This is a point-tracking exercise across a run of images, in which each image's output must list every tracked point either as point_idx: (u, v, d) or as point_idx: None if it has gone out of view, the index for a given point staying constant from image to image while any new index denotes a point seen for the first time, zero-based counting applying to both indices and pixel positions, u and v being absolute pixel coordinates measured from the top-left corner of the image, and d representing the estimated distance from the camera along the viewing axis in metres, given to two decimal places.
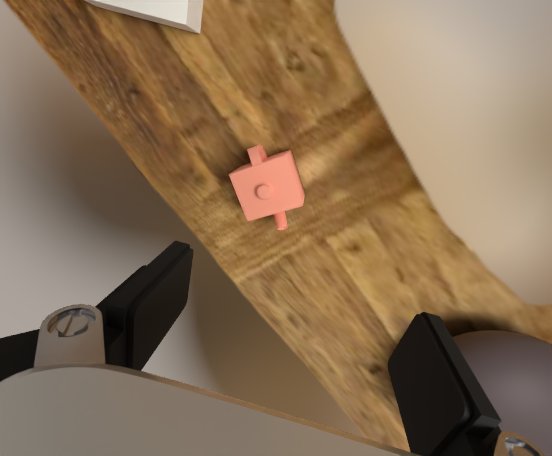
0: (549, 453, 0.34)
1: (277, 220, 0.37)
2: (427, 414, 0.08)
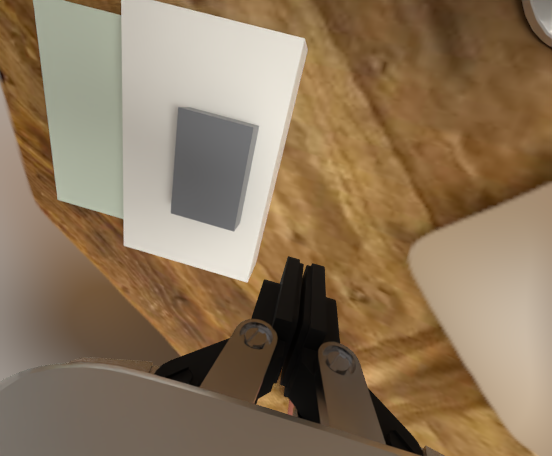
0: None
1: None
2: (292, 341, 0.09)
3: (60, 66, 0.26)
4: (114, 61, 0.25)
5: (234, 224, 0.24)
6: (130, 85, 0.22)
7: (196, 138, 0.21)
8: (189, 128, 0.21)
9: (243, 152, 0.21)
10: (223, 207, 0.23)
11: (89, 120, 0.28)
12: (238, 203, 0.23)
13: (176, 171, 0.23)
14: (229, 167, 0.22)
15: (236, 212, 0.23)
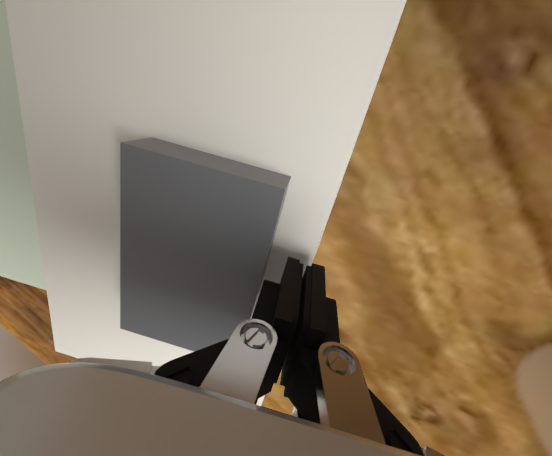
0: None
1: None
2: (292, 341, 0.09)
3: None
4: None
5: None
6: (34, 93, 0.11)
7: (161, 205, 0.10)
8: (146, 186, 0.10)
9: (261, 236, 0.10)
10: (218, 327, 0.12)
11: None
12: None
13: (125, 262, 0.11)
14: (231, 261, 0.11)
15: None
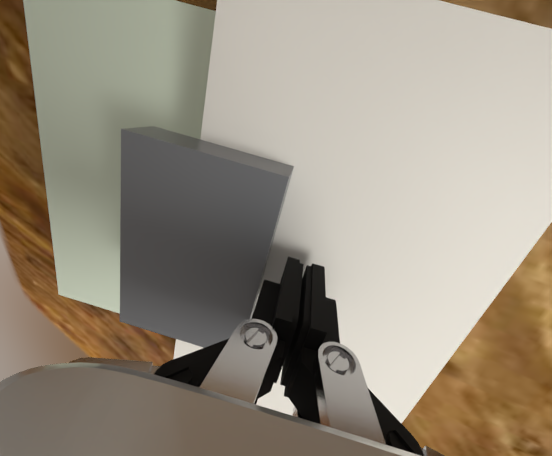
0: None
1: None
2: (292, 341, 0.09)
3: (69, 96, 0.15)
4: (170, 90, 0.14)
5: None
6: None
7: (162, 194, 0.10)
8: (147, 174, 0.10)
9: (263, 226, 0.10)
10: (219, 319, 0.12)
11: (116, 185, 0.16)
12: (249, 315, 0.12)
13: (125, 253, 0.11)
14: (232, 252, 0.11)
15: None
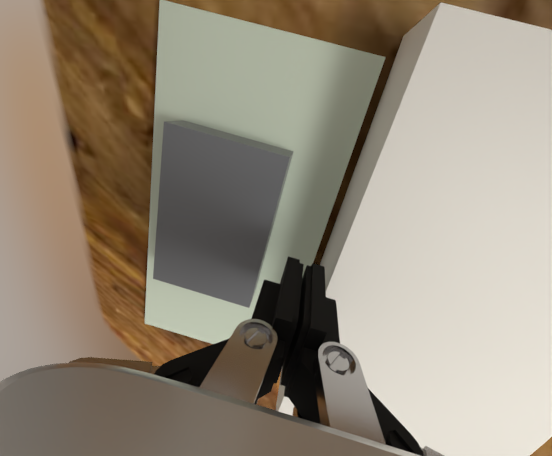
0: None
1: None
2: (291, 341, 0.09)
3: None
4: (302, 128, 0.14)
5: None
6: (384, 194, 0.11)
7: None
8: None
9: None
10: None
11: None
12: None
13: None
14: None
15: None
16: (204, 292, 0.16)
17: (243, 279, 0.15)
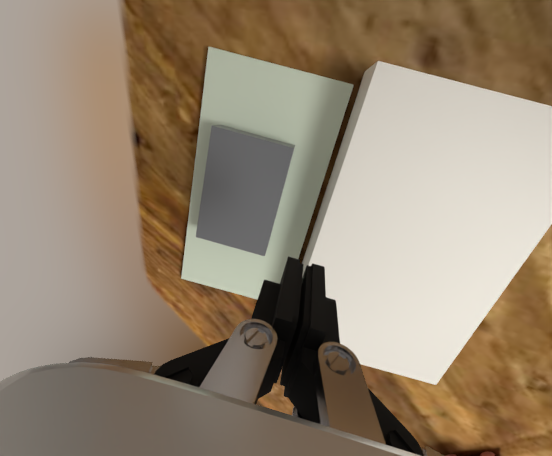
0: None
1: None
2: (291, 341, 0.09)
3: None
4: (301, 130, 0.20)
5: None
6: (353, 169, 0.18)
7: None
8: None
9: None
10: None
11: None
12: None
13: None
14: None
15: None
16: (232, 245, 0.22)
17: (260, 234, 0.22)
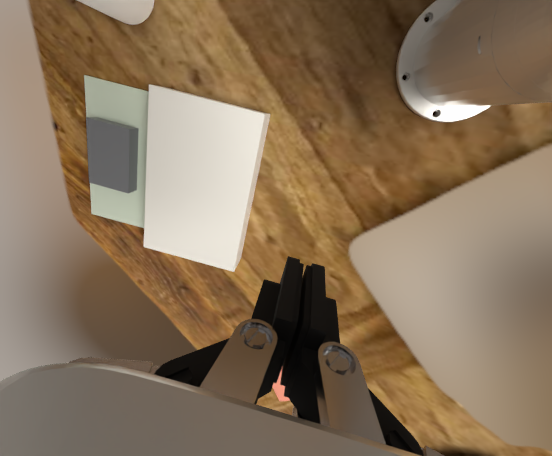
0: None
1: None
2: (291, 341, 0.09)
3: None
4: (139, 119, 0.37)
5: None
6: (152, 139, 0.34)
7: None
8: None
9: None
10: None
11: None
12: None
13: None
14: None
15: None
16: (110, 187, 0.39)
17: (123, 179, 0.38)
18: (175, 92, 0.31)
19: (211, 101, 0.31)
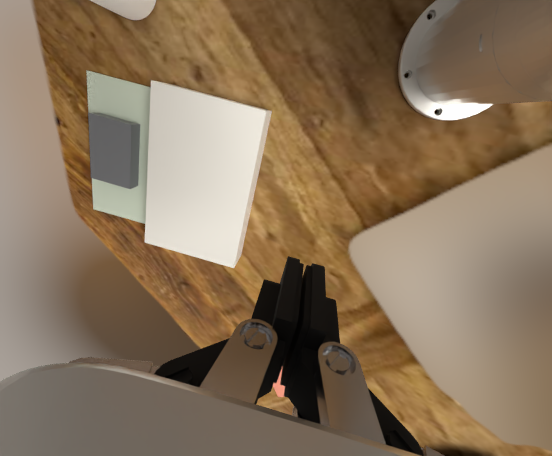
0: None
1: None
2: (291, 341, 0.09)
3: None
4: (141, 115, 0.37)
5: None
6: (154, 135, 0.34)
7: None
8: None
9: None
10: None
11: None
12: None
13: None
14: None
15: None
16: (111, 183, 0.39)
17: (125, 175, 0.38)
18: (177, 88, 0.31)
19: (213, 97, 0.31)
